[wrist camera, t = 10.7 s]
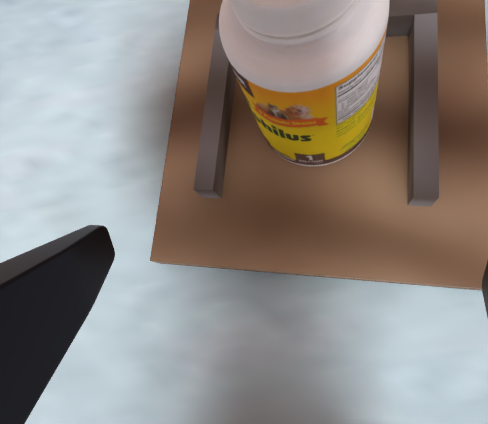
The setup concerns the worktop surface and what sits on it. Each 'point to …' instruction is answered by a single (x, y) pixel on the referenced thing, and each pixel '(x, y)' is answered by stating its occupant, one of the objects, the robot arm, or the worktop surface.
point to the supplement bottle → (307, 71)
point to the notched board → (338, 164)
